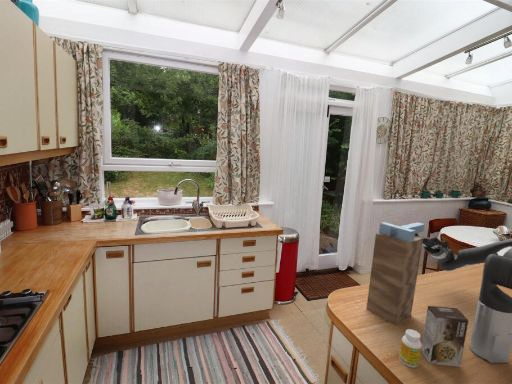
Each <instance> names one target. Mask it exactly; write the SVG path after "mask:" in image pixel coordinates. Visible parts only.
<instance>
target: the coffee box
mask: <svg viewBox="0 0 512 384" xmlns="http://www.w3.org/2000/svg"><path fill="white" fill-rule="evenodd" d="M468 325H469V319H468V318H467V317H466V316H465V314H463V313H462V311H460V310H459V308H457V307H449V306H447V307H446V306H436V305H435V306H434V305H428V306H427V311H426V317H425V323H424V329H423V335H422V340H421V343H422V348H421V353H422V354H423V355H424V357H425V358H426V360H427V361H428V363H429V364H430V365H440V366H449V367H457V368H458V367H459V368H460V367H461V365H462V359H463V353H464V347H465V341H466V338H467V336H466V335H467V331H468Z"/></svg>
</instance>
